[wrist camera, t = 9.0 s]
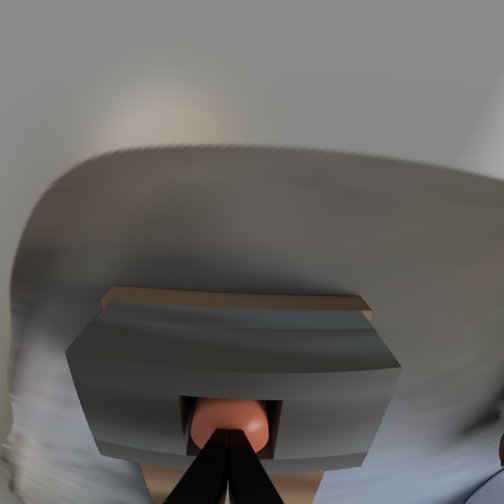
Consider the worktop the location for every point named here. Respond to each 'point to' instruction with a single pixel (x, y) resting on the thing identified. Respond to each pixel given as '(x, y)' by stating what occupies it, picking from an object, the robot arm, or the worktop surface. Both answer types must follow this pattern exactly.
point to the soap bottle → (489, 491)
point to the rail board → (233, 379)
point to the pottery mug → (501, 450)
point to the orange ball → (230, 419)
